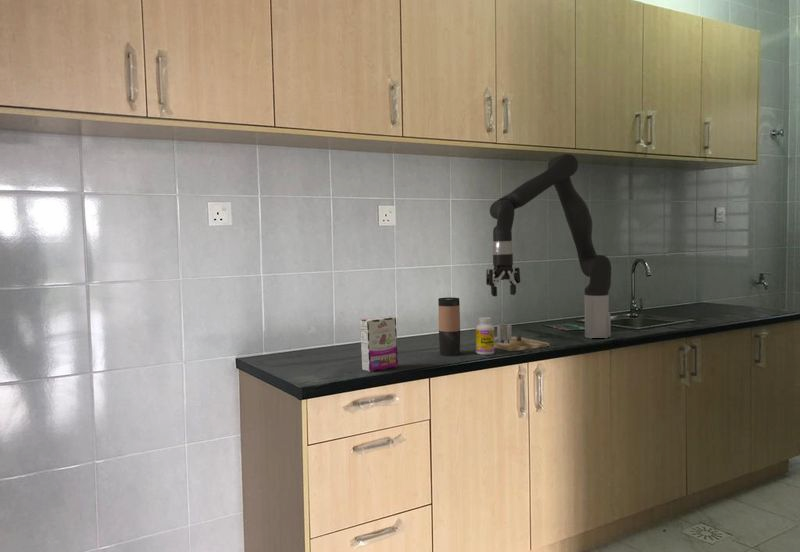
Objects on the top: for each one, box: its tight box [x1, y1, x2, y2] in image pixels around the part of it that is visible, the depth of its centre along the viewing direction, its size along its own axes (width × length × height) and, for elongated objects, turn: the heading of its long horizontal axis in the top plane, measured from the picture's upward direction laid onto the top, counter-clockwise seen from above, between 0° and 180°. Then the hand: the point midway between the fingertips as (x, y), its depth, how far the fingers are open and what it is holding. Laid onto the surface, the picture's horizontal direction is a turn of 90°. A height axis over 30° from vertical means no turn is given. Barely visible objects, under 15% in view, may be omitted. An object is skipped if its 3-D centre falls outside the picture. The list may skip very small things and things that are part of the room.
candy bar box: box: [359, 315, 399, 373], centre depth 205 cm, size 11×5×16 cm, turn 126°
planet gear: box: [494, 323, 517, 344], centre depth 245 cm, size 10×10×6 cm
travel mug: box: [437, 296, 461, 357], centre depth 227 cm, size 8×8×20 cm
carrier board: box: [494, 334, 550, 352], centre depth 244 cm, size 18×21×6 cm
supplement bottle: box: [474, 316, 495, 356], centre depth 227 cm, size 7×7×13 cm
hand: (503, 295), depth 244 cm, fingers open, 8 cm apart
